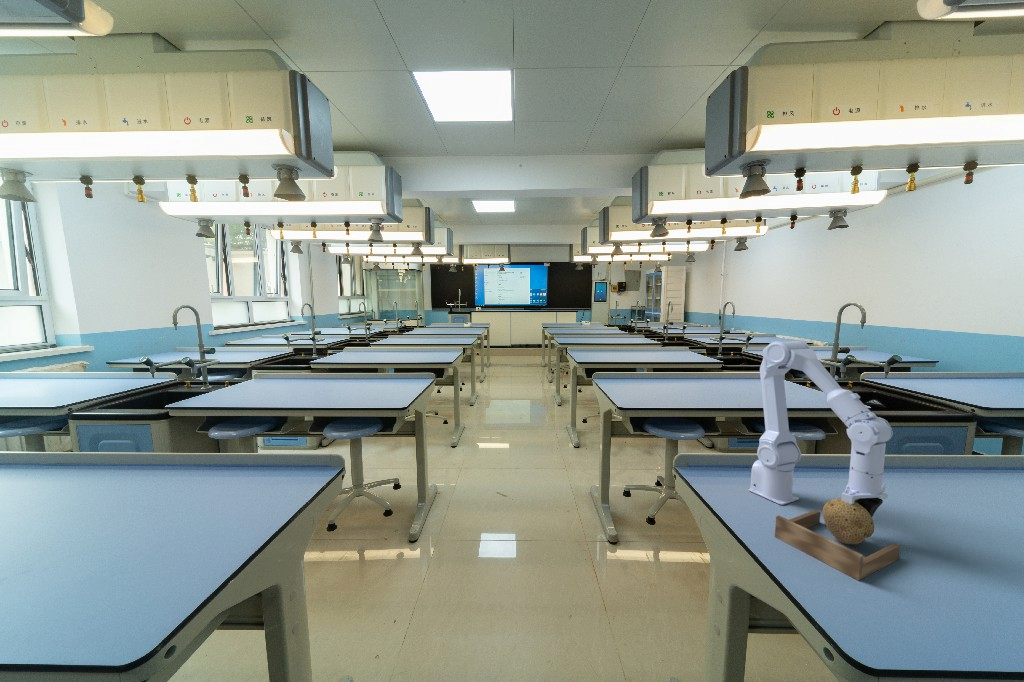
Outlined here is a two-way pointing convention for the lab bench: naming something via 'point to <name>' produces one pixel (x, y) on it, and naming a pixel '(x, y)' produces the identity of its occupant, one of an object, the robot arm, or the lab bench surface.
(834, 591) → the lab bench surface
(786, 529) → the wooden u-shaped fence
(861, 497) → the robot arm
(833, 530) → the natural sponge
